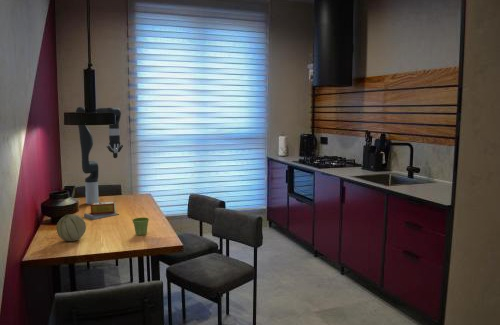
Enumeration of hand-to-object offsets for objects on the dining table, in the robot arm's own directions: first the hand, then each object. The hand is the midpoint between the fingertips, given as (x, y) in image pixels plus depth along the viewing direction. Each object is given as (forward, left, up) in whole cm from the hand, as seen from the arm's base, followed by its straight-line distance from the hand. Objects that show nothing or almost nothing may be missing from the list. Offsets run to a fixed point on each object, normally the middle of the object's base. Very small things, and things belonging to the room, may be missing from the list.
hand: (115, 158), depth 307 cm
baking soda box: (+15, -10, -33) cm, 38 cm away
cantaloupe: (+59, -63, -37) cm, 94 cm away
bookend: (+18, -22, -37) cm, 47 cm away
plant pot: (+77, -31, -37) cm, 91 cm away
